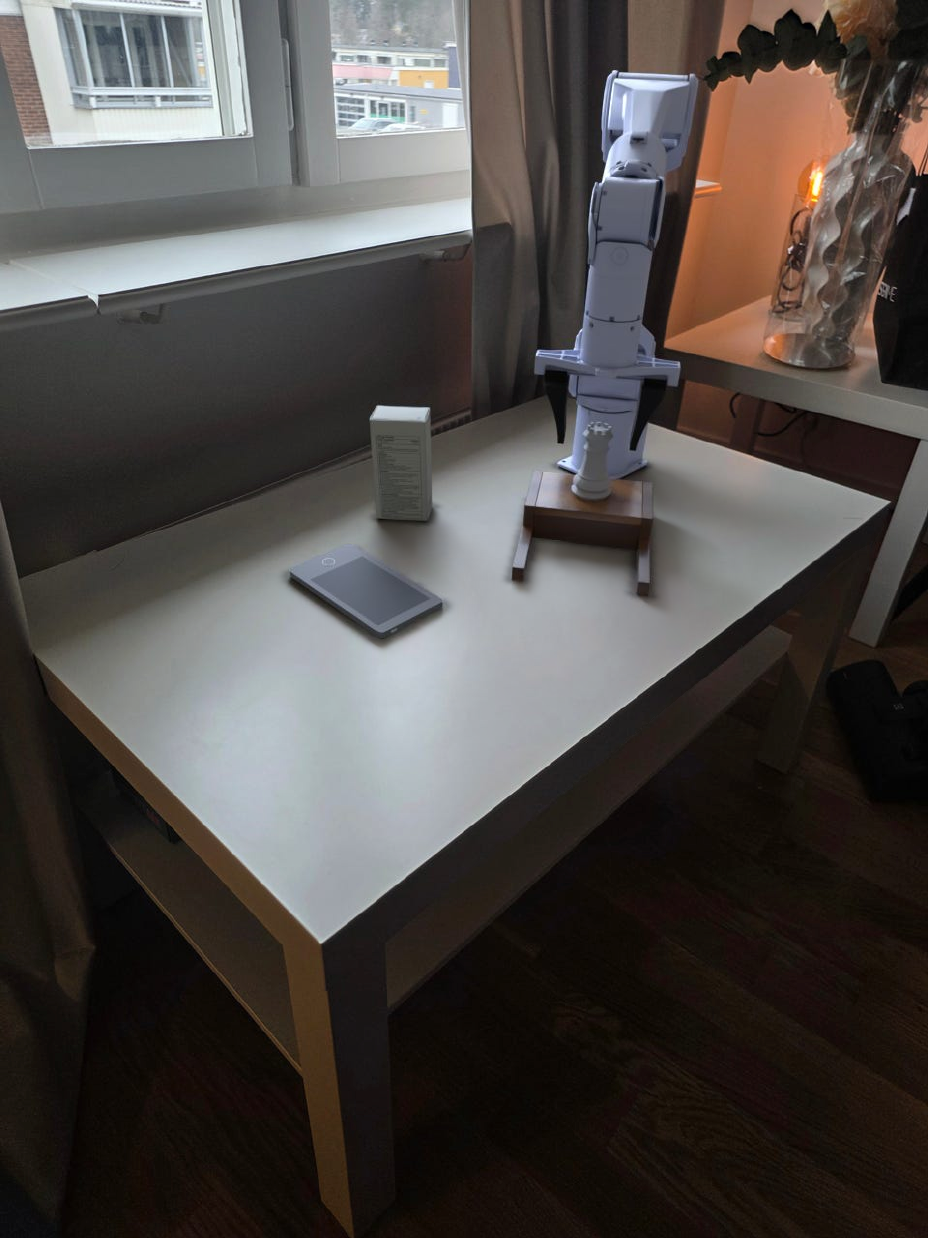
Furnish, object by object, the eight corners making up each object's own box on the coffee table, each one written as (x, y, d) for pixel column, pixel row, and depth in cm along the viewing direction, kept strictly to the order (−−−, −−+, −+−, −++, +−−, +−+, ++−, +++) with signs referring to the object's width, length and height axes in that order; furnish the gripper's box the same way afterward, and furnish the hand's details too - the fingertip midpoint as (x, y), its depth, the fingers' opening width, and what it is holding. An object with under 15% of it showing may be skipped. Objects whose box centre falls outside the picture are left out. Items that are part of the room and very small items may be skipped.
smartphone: (446, 606, 82) (446, 600, 82) (381, 640, 78) (381, 633, 77) (351, 547, 91) (350, 542, 90) (287, 575, 86) (287, 569, 86)
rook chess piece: (585, 505, 92) (594, 437, 87) (563, 488, 95) (570, 421, 91) (618, 497, 94) (628, 430, 89) (595, 481, 97) (604, 415, 92)
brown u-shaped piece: (647, 595, 85) (654, 561, 83) (511, 579, 87) (513, 546, 85) (647, 512, 100) (652, 482, 97) (530, 500, 101) (533, 470, 99)
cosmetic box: (433, 505, 100) (433, 406, 93) (428, 522, 96) (428, 421, 89) (379, 501, 100) (376, 402, 93) (372, 518, 97) (369, 417, 89)
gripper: (535, 319, 80) (525, 451, 88) (690, 331, 78) (665, 465, 86) (543, 300, 86) (532, 426, 94) (687, 311, 84) (664, 438, 92)
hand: (596, 443), depth 90 cm, fingers open, 7 cm apart
